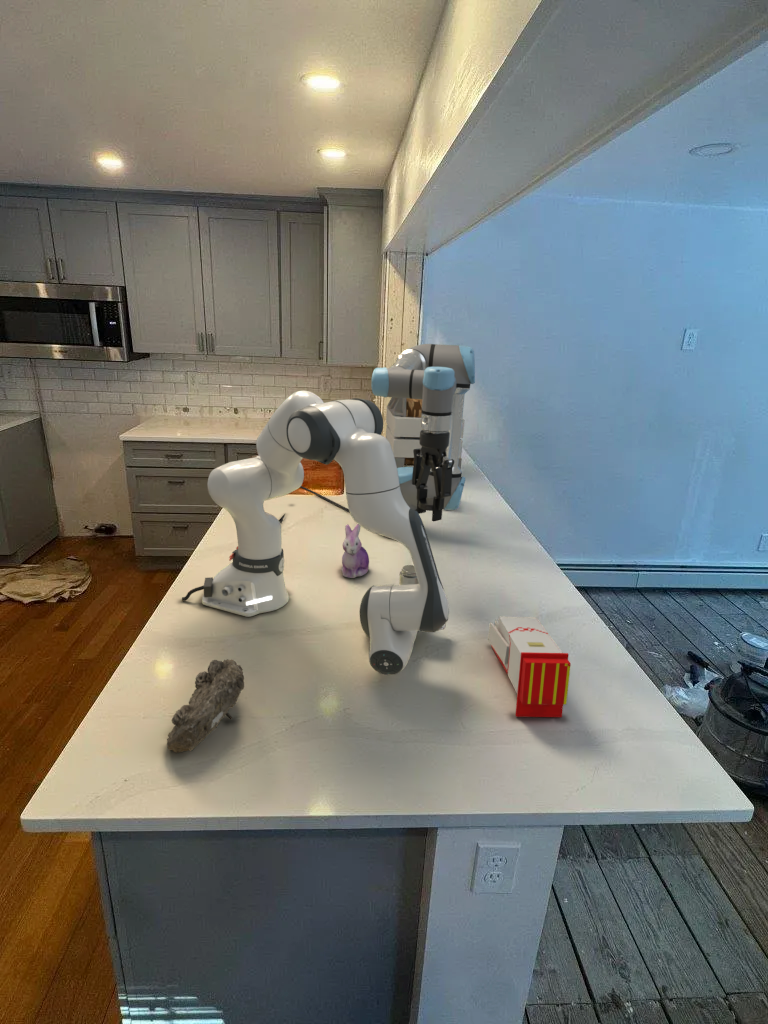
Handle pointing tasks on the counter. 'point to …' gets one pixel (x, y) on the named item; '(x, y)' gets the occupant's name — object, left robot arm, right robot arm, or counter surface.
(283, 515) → the feather
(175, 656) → the counter surface
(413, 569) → the thermos bottle
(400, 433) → the transformer
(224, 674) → the fossil
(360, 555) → the figurine
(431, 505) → the lid
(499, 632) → the toy
